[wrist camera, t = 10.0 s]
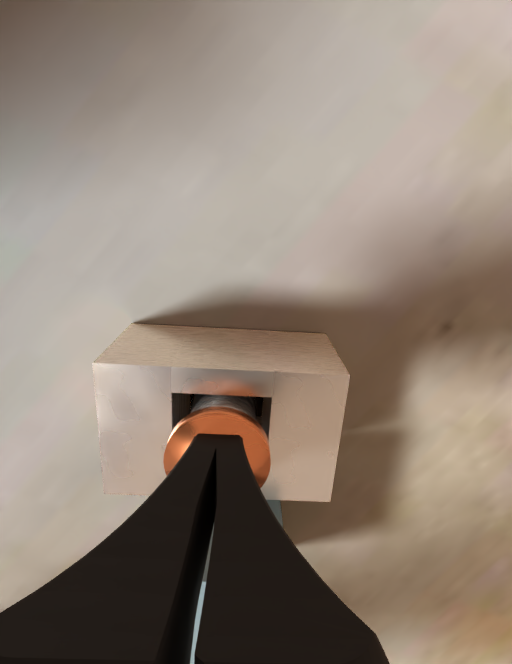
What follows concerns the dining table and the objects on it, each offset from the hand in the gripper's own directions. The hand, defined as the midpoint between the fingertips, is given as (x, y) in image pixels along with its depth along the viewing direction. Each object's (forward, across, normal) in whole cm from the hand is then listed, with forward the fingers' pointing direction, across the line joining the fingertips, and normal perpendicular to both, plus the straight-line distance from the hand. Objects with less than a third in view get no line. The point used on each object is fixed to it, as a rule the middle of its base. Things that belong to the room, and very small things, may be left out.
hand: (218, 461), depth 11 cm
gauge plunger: (+5, 0, 0) cm, 5 cm away
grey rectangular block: (+5, 0, 0) cm, 5 cm away
